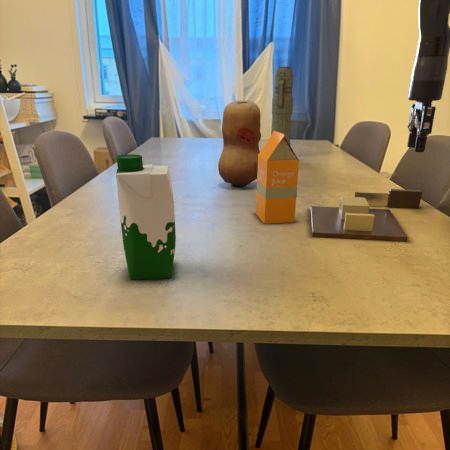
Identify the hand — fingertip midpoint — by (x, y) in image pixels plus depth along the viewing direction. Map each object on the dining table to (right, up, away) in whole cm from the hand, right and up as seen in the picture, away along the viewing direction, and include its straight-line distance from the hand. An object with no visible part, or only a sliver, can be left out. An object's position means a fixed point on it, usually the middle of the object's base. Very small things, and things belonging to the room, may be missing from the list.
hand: (415, 149), depth 110 cm
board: (-18, -20, -7) cm, 28 cm away
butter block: (-17, -18, -4) cm, 25 cm away
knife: (-5, -13, +7) cm, 16 cm away
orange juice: (-36, -18, -2) cm, 41 cm away
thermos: (-24, +26, +82) cm, 89 cm away
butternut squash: (-44, -2, +29) cm, 53 cm away
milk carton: (-62, -33, -32) cm, 77 cm away
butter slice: (-19, -23, -14) cm, 33 cm away
